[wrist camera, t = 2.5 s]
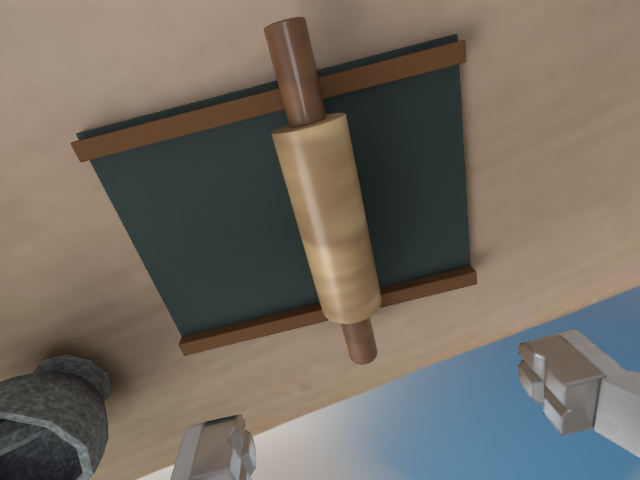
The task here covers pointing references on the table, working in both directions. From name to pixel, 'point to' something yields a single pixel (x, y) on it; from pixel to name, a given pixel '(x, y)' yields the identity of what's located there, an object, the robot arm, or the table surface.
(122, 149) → the chalkboard
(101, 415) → the mortar and pestle
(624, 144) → the table surface
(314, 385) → the table surface
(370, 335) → the rolling pin
